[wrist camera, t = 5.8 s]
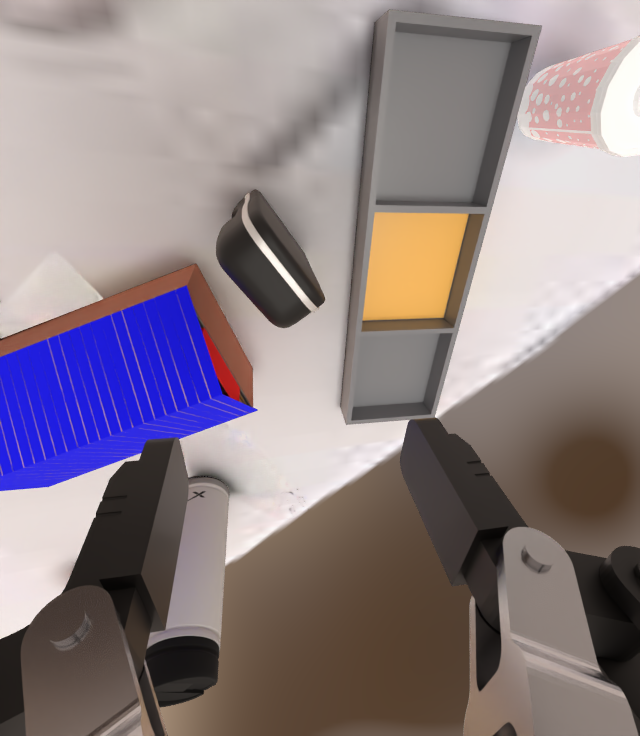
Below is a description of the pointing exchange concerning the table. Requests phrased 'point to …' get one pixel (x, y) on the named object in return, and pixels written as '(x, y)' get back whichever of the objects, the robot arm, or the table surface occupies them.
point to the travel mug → (193, 600)
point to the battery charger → (268, 263)
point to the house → (117, 380)
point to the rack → (425, 200)
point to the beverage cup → (587, 101)
